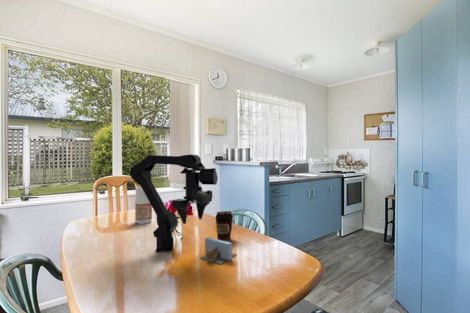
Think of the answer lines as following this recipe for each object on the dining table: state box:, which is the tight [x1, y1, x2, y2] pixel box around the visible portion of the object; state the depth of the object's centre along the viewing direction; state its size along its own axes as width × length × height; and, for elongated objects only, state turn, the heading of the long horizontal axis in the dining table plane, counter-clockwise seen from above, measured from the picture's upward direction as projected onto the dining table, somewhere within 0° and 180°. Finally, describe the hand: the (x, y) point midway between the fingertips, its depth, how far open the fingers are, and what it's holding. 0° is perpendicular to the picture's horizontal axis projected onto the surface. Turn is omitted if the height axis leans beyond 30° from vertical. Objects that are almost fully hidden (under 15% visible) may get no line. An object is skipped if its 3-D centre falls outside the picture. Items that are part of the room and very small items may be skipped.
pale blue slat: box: [204, 236, 233, 261], centre depth 97 cm, size 12×2×6 cm, turn 55°
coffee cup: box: [215, 210, 234, 242], centre depth 118 cm, size 9×8×13 cm
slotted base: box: [200, 241, 237, 265], centre depth 97 cm, size 12×10×4 cm
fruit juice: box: [134, 184, 153, 225], centre depth 149 cm, size 9×9×28 cm
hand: (192, 221), depth 103 cm, fingers open, 9 cm apart
